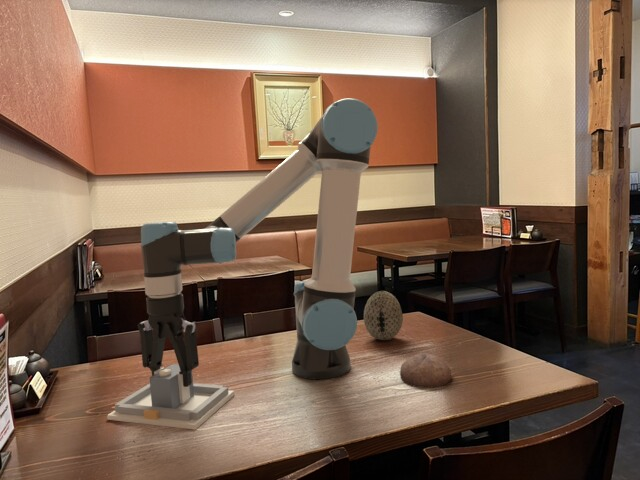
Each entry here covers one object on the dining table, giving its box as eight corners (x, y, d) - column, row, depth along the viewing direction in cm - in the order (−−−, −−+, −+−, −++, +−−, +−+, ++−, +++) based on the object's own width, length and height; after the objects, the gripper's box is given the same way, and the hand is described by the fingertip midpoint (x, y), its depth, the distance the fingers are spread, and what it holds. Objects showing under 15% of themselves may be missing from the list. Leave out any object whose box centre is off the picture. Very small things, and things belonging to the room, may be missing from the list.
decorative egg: (404, 334, 142) (402, 287, 141) (402, 346, 131) (400, 295, 130) (367, 333, 145) (365, 287, 144) (362, 345, 134) (359, 295, 133)
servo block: (194, 395, 102) (191, 361, 101) (172, 411, 94) (169, 375, 94) (175, 393, 103) (172, 360, 103) (152, 409, 96) (149, 373, 95)
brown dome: (448, 369, 113) (447, 347, 112) (454, 389, 101) (454, 365, 100) (400, 368, 114) (399, 347, 114) (400, 388, 103) (400, 364, 102)
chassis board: (234, 394, 103) (233, 384, 103) (195, 429, 88) (194, 417, 88) (156, 388, 110) (155, 378, 109) (107, 419, 94) (106, 408, 94)
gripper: (211, 290, 98) (219, 395, 100) (140, 290, 103) (149, 389, 105) (191, 298, 91) (200, 410, 93) (117, 297, 96) (126, 403, 98)
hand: (173, 398), depth 99 cm, fingers open, 5 cm apart
